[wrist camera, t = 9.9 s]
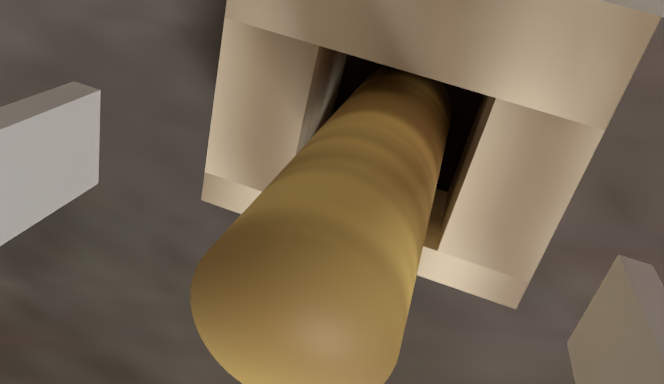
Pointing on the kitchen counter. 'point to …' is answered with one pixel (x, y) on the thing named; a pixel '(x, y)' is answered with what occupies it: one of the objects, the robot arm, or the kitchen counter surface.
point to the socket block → (449, 67)
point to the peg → (330, 244)
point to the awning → (642, 5)
